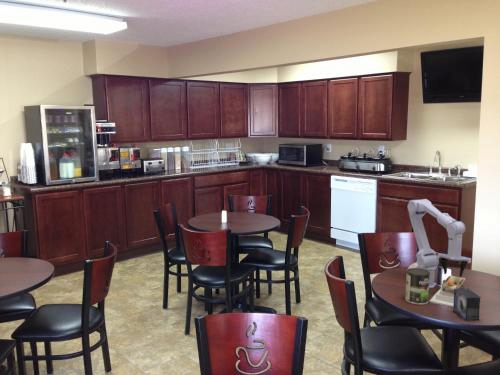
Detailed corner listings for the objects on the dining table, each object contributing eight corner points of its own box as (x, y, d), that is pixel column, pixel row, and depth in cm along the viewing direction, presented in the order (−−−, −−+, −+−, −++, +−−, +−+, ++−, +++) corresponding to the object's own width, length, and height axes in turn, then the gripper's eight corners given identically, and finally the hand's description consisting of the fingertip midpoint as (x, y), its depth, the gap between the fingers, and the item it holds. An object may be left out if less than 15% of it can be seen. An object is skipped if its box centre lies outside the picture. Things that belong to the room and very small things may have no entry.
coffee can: (433, 302, 213) (435, 272, 211) (417, 306, 208) (418, 276, 206) (416, 294, 222) (417, 266, 220) (400, 298, 217) (401, 269, 215)
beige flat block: (435, 299, 214) (436, 294, 214) (440, 294, 220) (440, 289, 220) (456, 303, 209) (456, 298, 209) (460, 298, 215) (460, 293, 215)
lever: (441, 293, 218) (441, 283, 217) (449, 283, 231) (450, 274, 230) (457, 297, 213) (457, 286, 213) (464, 286, 227) (465, 276, 226)
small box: (451, 310, 203) (453, 288, 202) (465, 310, 204) (467, 287, 202) (464, 321, 193) (466, 297, 191) (479, 320, 193) (481, 296, 192)
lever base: (429, 302, 213) (430, 290, 212) (442, 286, 233) (443, 275, 232) (459, 308, 205) (460, 296, 204) (470, 292, 225) (471, 280, 224)
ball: (446, 285, 216) (446, 279, 216) (447, 284, 219) (448, 278, 218) (453, 287, 214) (453, 281, 214) (454, 285, 217) (455, 279, 216)
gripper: (436, 246, 218) (434, 274, 220) (469, 251, 210) (467, 280, 212) (440, 243, 224) (438, 270, 226) (472, 248, 215) (470, 276, 217)
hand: (453, 274), depth 219 cm, fingers open, 6 cm apart
